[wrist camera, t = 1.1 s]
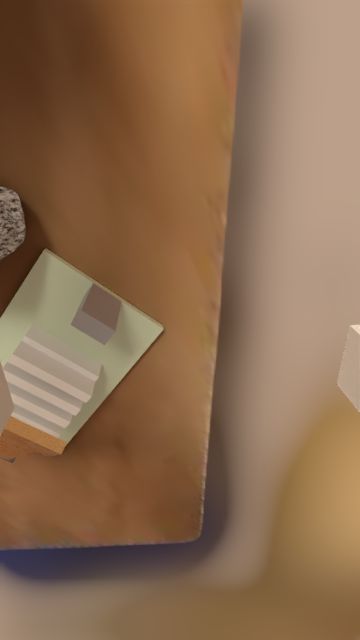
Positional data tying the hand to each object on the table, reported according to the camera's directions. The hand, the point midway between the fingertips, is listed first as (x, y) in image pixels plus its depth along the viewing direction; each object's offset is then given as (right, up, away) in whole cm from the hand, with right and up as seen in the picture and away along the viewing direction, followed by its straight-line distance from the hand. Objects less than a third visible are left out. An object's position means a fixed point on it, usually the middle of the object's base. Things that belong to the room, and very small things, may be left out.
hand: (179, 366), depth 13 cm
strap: (-17, -11, +22) cm, 30 cm away
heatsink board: (-17, -4, +33) cm, 38 cm away
